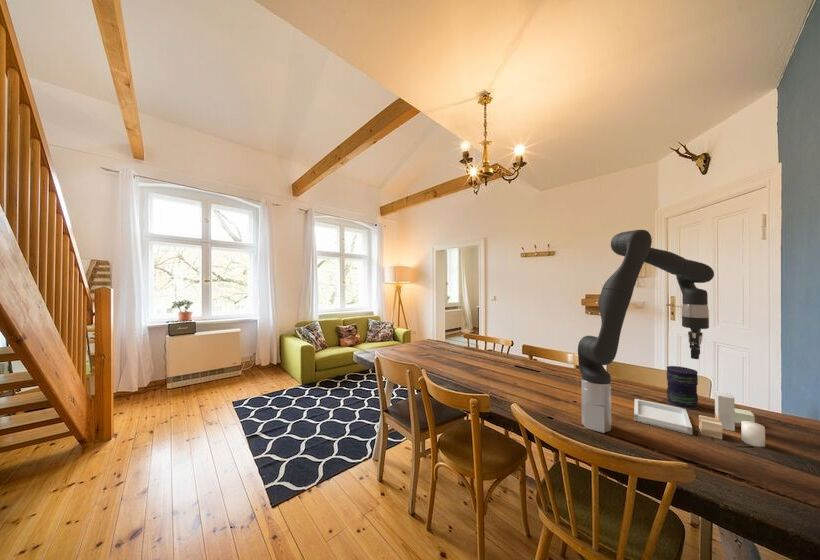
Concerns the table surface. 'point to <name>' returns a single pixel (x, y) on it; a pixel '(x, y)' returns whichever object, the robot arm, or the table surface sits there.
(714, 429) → the beech block
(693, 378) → the storage jar
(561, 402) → the table surface
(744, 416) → the sage block
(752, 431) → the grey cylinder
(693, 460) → the table surface
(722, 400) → the skincare box
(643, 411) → the tray
